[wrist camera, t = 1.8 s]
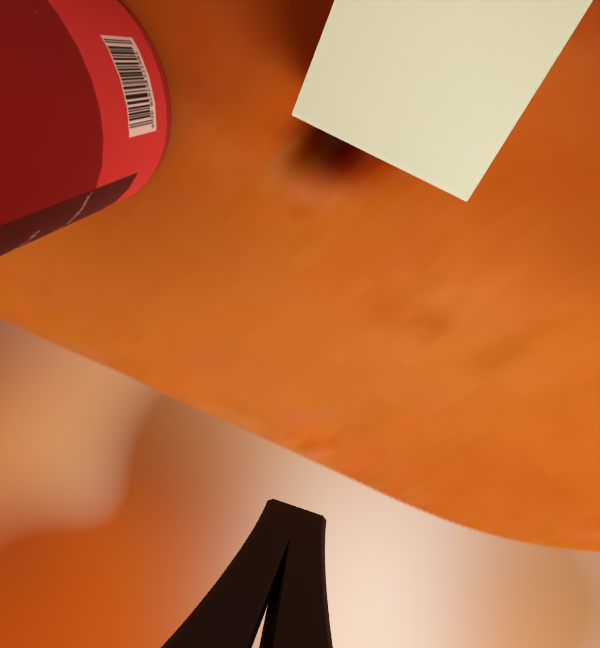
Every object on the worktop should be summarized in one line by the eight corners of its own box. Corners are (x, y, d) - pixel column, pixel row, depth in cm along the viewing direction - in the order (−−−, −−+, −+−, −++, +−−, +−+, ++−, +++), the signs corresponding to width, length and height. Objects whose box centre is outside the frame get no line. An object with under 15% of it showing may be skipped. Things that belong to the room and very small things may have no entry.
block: (548, 4, 14) (605, -20, 10) (454, 165, 17) (467, 201, 12) (395, -72, 14) (384, -133, 10) (324, 101, 16) (291, 114, 12)
